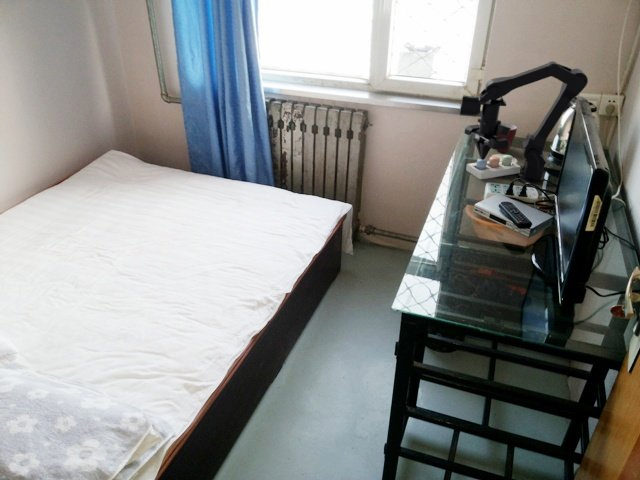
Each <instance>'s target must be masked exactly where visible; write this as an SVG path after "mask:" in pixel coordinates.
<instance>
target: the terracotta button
mask: <svg viewBox="0 0 640 480" xmlns="http://www.w3.org/2000/svg"><path fill="white" fill-rule="evenodd" d="M500 159H501V158H500V157H498V156H490V157H489V160H488V161H489V167H491V168H497V167H499V162H500Z"/></svg>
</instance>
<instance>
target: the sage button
mask: <svg viewBox="0 0 640 480" xmlns="http://www.w3.org/2000/svg"><path fill="white" fill-rule="evenodd" d="M501 159H502V161H501V162H502V165H504V166H510V165H511V163H512V162H513V156H512V155H510V154H502V156H501Z"/></svg>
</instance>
